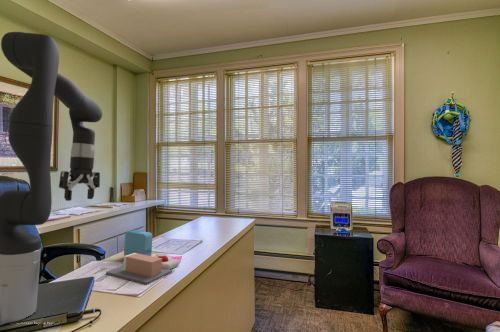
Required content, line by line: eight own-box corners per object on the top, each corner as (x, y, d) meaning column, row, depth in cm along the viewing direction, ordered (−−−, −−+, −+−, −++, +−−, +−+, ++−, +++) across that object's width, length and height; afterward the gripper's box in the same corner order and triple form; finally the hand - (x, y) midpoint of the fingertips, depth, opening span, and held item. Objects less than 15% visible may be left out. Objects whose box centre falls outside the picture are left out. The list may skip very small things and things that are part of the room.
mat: (147, 284, 97) (147, 282, 97) (105, 274, 105) (106, 271, 105) (172, 272, 110) (172, 270, 110) (134, 263, 118) (134, 261, 118)
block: (161, 272, 107) (133, 266, 113) (162, 258, 107) (134, 252, 113) (151, 277, 102) (123, 270, 107) (152, 262, 102) (123, 256, 108)
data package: (151, 259, 125) (153, 232, 125) (144, 262, 121) (145, 234, 121) (131, 255, 129) (132, 229, 130) (123, 257, 125) (125, 231, 125)
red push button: (183, 255, 121) (168, 261, 111) (182, 265, 121) (167, 272, 111) (160, 250, 125) (144, 256, 116) (160, 260, 125) (144, 266, 116)
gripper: (92, 157, 111) (89, 197, 110) (56, 154, 97) (52, 200, 97) (106, 158, 108) (103, 199, 107) (70, 154, 95) (67, 202, 94)
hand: (79, 199), depth 102 cm, fingers open, 8 cm apart
